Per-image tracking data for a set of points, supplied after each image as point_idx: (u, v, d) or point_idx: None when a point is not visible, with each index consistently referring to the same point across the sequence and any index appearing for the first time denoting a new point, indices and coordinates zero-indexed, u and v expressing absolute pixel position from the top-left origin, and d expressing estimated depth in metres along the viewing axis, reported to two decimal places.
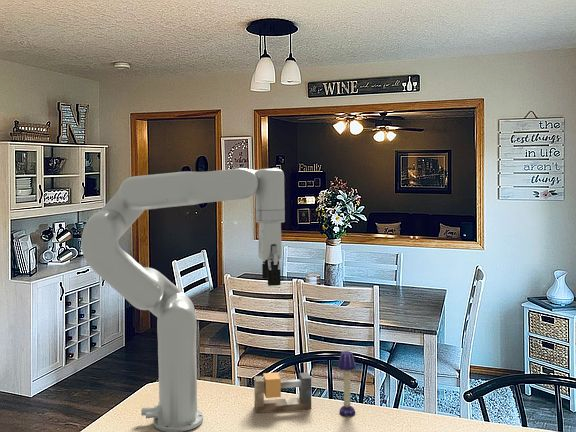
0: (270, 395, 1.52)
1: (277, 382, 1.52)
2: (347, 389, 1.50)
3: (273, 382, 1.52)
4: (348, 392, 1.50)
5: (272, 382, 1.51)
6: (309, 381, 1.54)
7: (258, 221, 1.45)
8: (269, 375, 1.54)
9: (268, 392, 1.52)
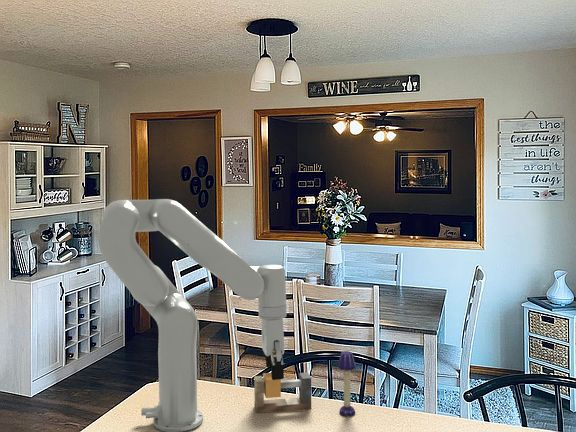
0: (270, 395, 1.52)
1: (277, 382, 1.52)
2: (347, 389, 1.50)
3: (273, 382, 1.52)
4: (348, 392, 1.50)
5: (272, 382, 1.51)
6: (309, 381, 1.54)
7: (261, 317, 1.50)
8: (269, 375, 1.54)
9: (268, 392, 1.52)
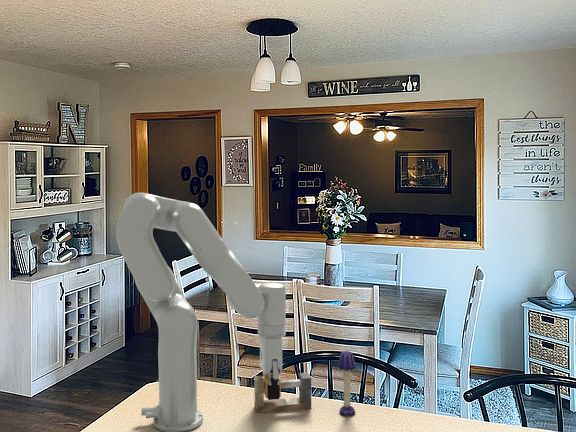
0: None
1: None
2: (347, 389, 1.50)
3: None
4: (348, 392, 1.50)
5: None
6: (309, 381, 1.54)
7: (260, 335, 1.51)
8: None
9: None
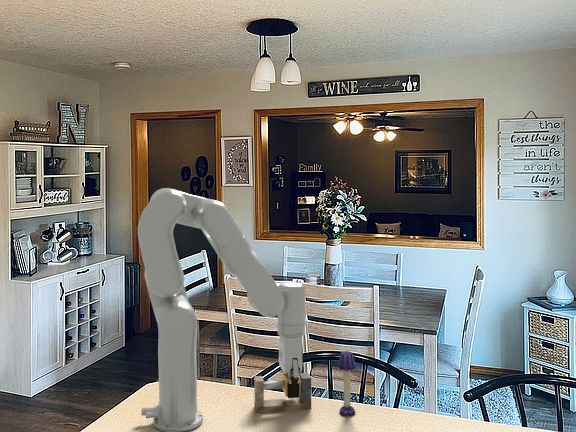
0: None
1: None
2: (347, 389, 1.50)
3: None
4: (348, 392, 1.50)
5: None
6: (309, 381, 1.54)
7: (280, 334, 1.52)
8: None
9: None
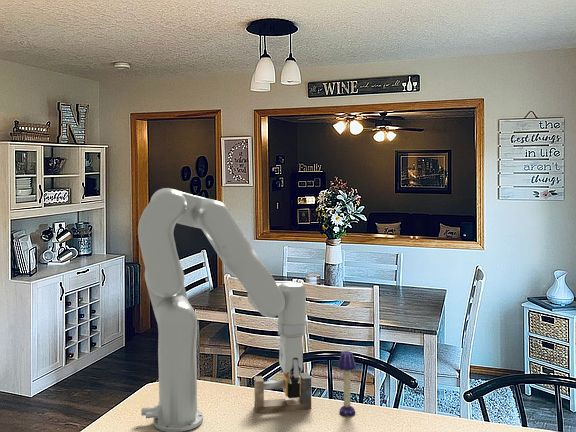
0: None
1: None
2: (347, 389, 1.50)
3: None
4: (348, 392, 1.50)
5: None
6: (309, 381, 1.54)
7: (280, 334, 1.52)
8: None
9: None
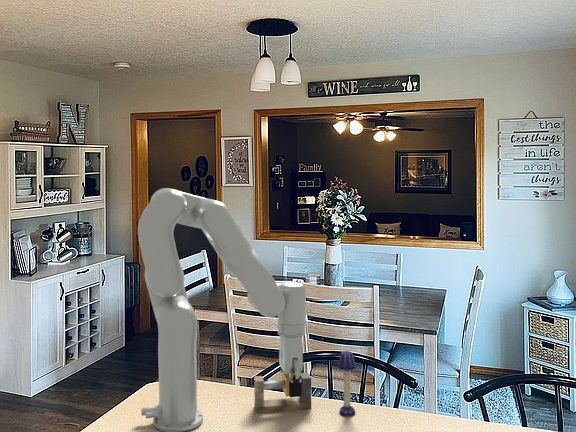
0: None
1: None
2: (347, 389, 1.50)
3: None
4: (348, 392, 1.50)
5: None
6: (309, 381, 1.54)
7: (280, 334, 1.52)
8: None
9: None
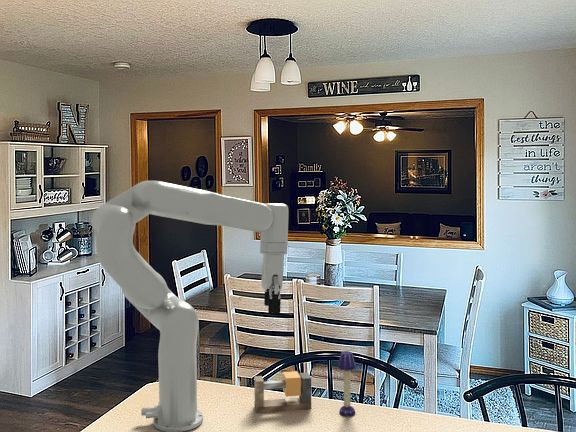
0: (290, 394, 1.53)
1: (297, 381, 1.53)
2: (347, 389, 1.50)
3: (293, 381, 1.53)
4: (348, 392, 1.50)
5: (292, 381, 1.52)
6: (309, 381, 1.54)
7: (262, 252, 1.54)
8: (289, 374, 1.55)
9: (289, 391, 1.53)
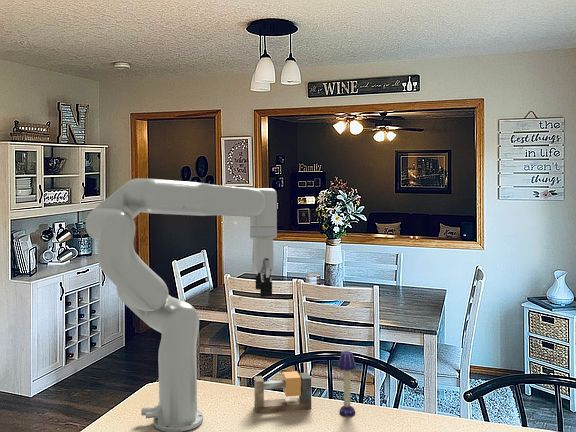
0: (290, 394, 1.53)
1: (297, 381, 1.53)
2: (347, 389, 1.50)
3: (293, 381, 1.53)
4: (348, 392, 1.50)
5: (292, 381, 1.52)
6: (309, 381, 1.54)
7: (252, 237, 1.57)
8: (289, 374, 1.55)
9: (289, 391, 1.53)
